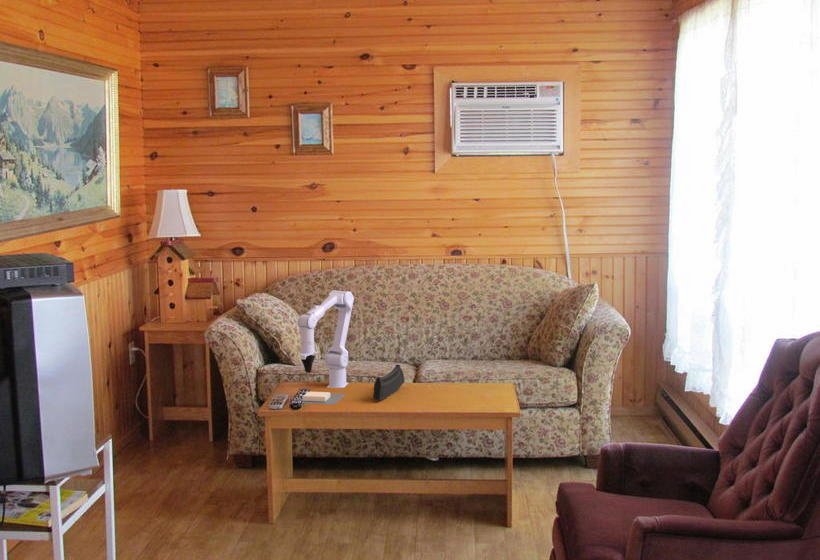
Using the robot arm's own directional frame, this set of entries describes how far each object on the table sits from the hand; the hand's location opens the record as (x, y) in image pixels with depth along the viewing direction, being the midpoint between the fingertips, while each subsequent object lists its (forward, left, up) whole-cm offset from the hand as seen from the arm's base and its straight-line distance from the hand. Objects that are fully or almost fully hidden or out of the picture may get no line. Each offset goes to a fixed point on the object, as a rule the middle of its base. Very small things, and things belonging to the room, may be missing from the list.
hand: (308, 372), depth 405 cm
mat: (+6, +6, -10) cm, 13 cm away
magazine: (-7, +35, -11) cm, 37 cm away
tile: (+4, +6, -9) cm, 11 cm away
